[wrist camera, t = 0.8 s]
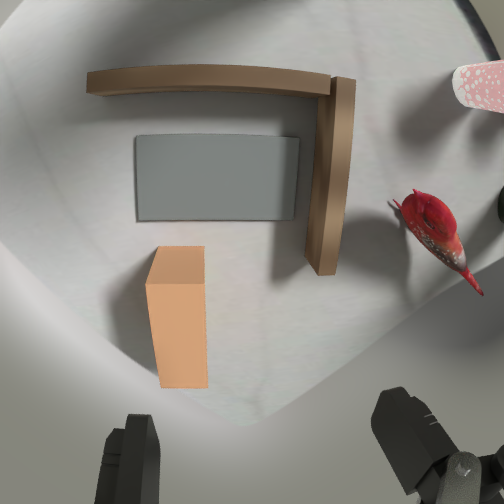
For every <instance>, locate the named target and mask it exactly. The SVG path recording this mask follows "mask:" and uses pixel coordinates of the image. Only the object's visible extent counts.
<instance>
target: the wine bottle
mask: <svg viewBox="0 0 504 504" xmlns="http://www.w3.org/2000/svg"><path fill="white" fill-rule="evenodd" d="M498 214H499V218H500V220H501V221H502V222H503V223H504V188H503V189H502V192H501V194H500V197H499V202H498Z"/></svg>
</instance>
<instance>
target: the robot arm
mask: <svg viewBox="0 0 504 504" xmlns="http://www.w3.org/2000/svg"><path fill="white" fill-rule="evenodd" d="M371 428H372V431H373V433H374V435H375V437H376V439H377V440H378V442H379V444H380V446H381V448H382V450H383V451H384V453H385V455H386V457H387V459H388V461H389V463H390V464H391V466H392V468H393V470H394V472H395V474H396V476H397V477H398V480H399V482H400V483H401V485H402V487H403V489H404V491H405V493H406V495H410V494H412V493H414V492H418V493H419V495H420V496H419V497H418V499H417V502H416V504H504V499H503V498H502V496H501V494H500V492H499V491H500V490H501V489H502V488H503V489H504V445H503V446H501V447H500V448H499V450H498V451H497V452H496V454H492V455H487V456H481V457H476V456H475V455H474V454H472V453H470V452H466V451H459V450H458V449H457V447H456V446H455V444H454V443H453V442H452V440H451V439H450V437H449V436H448V434H447V433H446V432H445V430H444V429H443V427H442V426H441V425H440V423H438V422H437V419H436V418H435V416H434V415H432V412H431V411H430V410H429V408H428V407H427V406H426V404H425V403H423V402H422V401H420V400H419V399H418V398H416V397H415V396H414V397H410V395H409V394H408V393H407V391H406V390H405V389H404V388H403V387H396V388H392V389H389V390H384V391H382V392H381V394H380V396H379V399H378V401H377V404H376V407H375V410H374V412H373V414H372V417H371ZM101 463H102V466H101V467H100V473H99V479H98V484H97V490H96V497H95V502H94V504H159V478H160V443H159V439H158V436H157V433H156V430H155V426H154V423H153V419H152V417H151V415H144V414H129V415H128V416H127V420H126V426H125V429H118V428H117V429H116V428H114V429H113V431H112V433H111V434H110V435H109V436H108V438H107V439H106V442H105V447H104V455H103V457H102V462H101Z"/></svg>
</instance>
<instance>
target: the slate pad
mask: <svg viewBox="0 0 504 504" xmlns="http://www.w3.org/2000/svg"><path fill="white" fill-rule="evenodd" d="M299 141H300V138H294V137H280V136H262V135H237V134H164V135H139V136H136V156H137V194H138V214H139V220H293V218H294V206H295V194H296V182H297V169H298V155H299Z"/></svg>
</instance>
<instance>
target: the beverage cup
mask: <svg viewBox="0 0 504 504" xmlns="http://www.w3.org/2000/svg"><path fill="white" fill-rule="evenodd" d="M452 83H453V90H454V92H455V95H456V97H457V99H458V100H459V101H460V103H461V104H463V105H464V106H466V107H472V108H478V109H484V110H489V111H495V112H500V113H504V60H498V61H491V62H484V63H478V64H471V65H466V66H461V67H459V68H457V69H456V70H455V72H454V74H453V79H452Z"/></svg>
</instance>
